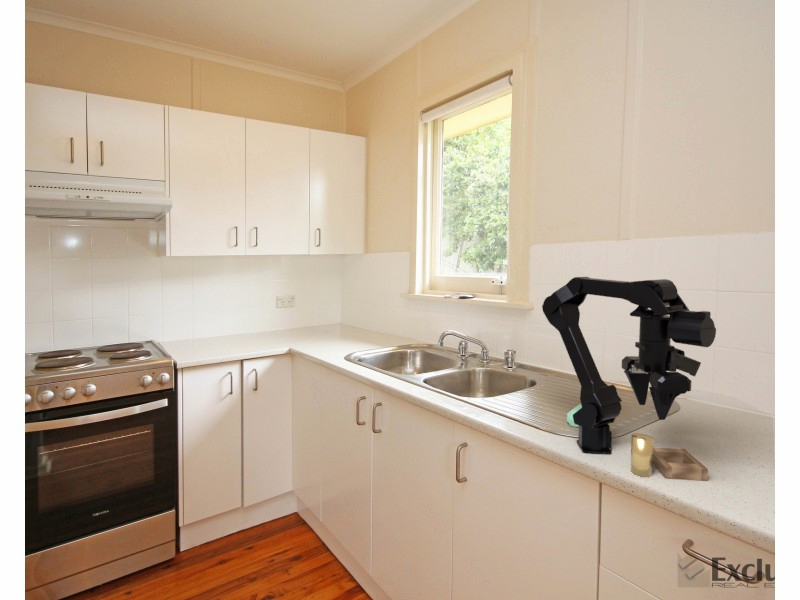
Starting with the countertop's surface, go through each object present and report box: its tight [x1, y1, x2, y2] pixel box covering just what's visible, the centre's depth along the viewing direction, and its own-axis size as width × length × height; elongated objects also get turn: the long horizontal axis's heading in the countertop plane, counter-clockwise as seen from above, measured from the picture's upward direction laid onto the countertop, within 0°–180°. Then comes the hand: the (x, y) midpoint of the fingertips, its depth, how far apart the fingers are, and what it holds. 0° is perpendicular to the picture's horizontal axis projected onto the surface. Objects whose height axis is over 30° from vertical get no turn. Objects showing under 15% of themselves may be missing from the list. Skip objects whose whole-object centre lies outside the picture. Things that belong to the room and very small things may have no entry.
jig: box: [652, 446, 709, 482], centre depth 97 cm, size 8×10×2 cm
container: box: [566, 403, 582, 428], centre depth 131 cm, size 6×6×25 cm
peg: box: [630, 432, 654, 478], centre depth 95 cm, size 4×4×8 cm
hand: (651, 411), depth 95 cm, fingers open, 9 cm apart
